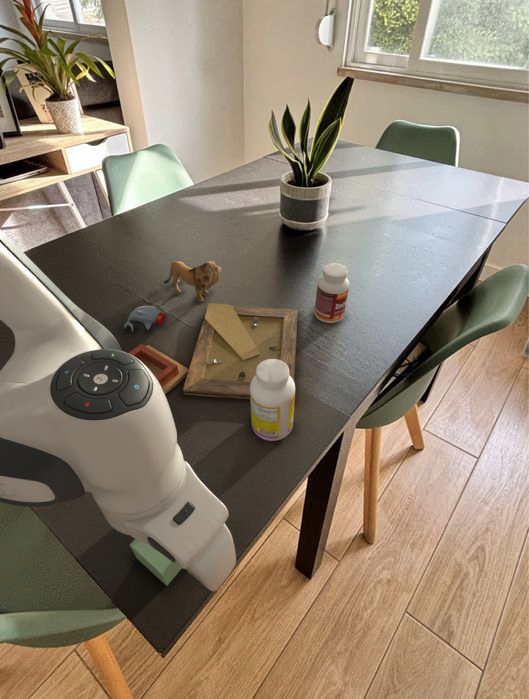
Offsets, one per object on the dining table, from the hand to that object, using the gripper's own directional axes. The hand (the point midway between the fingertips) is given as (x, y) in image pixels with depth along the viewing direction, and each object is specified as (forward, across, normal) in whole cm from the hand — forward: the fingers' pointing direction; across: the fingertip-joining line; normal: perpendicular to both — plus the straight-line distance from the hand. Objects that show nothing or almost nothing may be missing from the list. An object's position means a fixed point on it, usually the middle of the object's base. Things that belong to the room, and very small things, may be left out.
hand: (166, 542), depth 52 cm
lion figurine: (+3, -36, +43) cm, 56 cm away
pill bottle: (+4, -8, +54) cm, 54 cm away
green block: (+3, 0, 0) cm, 3 cm away
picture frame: (+3, -15, +35) cm, 38 cm away
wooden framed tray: (+3, -25, +18) cm, 31 cm away
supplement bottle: (+3, -1, +24) cm, 24 cm away
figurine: (+3, -36, +29) cm, 46 cm away
